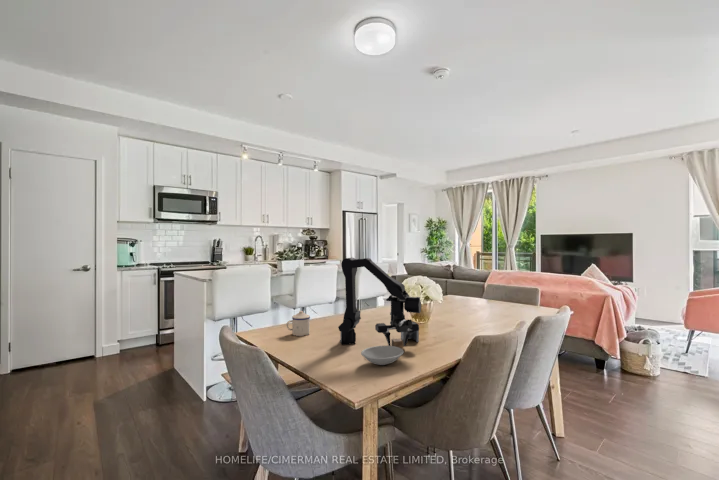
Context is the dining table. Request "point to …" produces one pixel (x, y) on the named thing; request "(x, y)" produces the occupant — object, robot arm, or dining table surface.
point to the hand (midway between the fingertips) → (397, 346)
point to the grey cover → (412, 336)
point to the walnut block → (397, 343)
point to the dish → (382, 354)
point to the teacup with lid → (300, 324)
